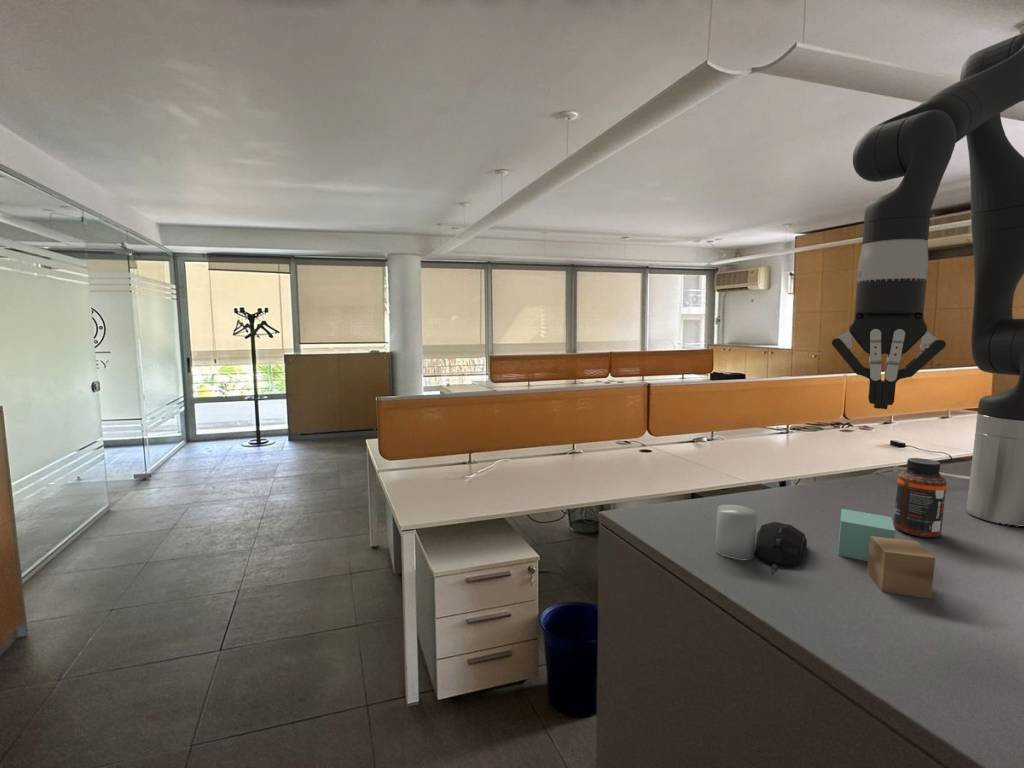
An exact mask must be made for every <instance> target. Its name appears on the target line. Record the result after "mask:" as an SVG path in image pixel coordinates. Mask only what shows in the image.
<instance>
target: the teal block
mask: <svg viewBox="0 0 1024 768" xmlns="http://www.w3.org/2000/svg"><path fill="white" fill-rule="evenodd" d="M895 533H896V528H895V526H894V520H893V519H892V516H886V515H881V514H873V513H868V512H864V511H857V510H851V509H845V508H841V509H840V520H839V531H838V545H837V546H838V549H837V553H838V554H837V555H838V556H839V557H840V556H841V557H845V558H850V559H856V560H860V561H865V562H868V556H869V546H870V536H874V537H883V538H892V539H895V535H896V534H895Z"/></svg>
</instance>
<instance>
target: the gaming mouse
mask: <svg viewBox="0 0 1024 768" xmlns="http://www.w3.org/2000/svg"><path fill="white" fill-rule="evenodd" d="M807 543H808V540H807V536H806V535H805V533H804V532H803V531H802V530H800V529H798V528H796V527H795V526H793V525H791V524H786V523H782V522H778V521H772V522H769V523H765V524H761V526H760V528H759V530H758V531H757V532H756V537H755V550H754V557H755V558H756V560H757V561H759V562H762V563H764V564H767V565H769V566H771V568H770V570H771V576H774V575H775V572H777V570H778V568H784V569H785V568H787V569H795V568H798V567H800V566H801V564H802V563H803V560H804V557H805V555H806V552H807Z"/></svg>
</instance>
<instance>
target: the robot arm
mask: <svg viewBox="0 0 1024 768" xmlns="http://www.w3.org/2000/svg"><path fill="white" fill-rule="evenodd" d="M959 78H960V79H959V81H957V82H955V83H952V84H951V85H949V86H947V87H944V88H943V89H942V90H940V91H938V92H937V93H935V94H933V95H932V96H930V97H928V98H927V99H925V100H924V101H922V103H920V104H919V105H917V106H916V107H914V108H912V109H909V110H907V111H905V112H903V113H900V114H898V115H895V116H893V117H891V118H889V119H887V120H884V121H882V122H880V123H879V124H876V125H875V126H873V127H871V128H870V129H868V130H867V131H866V132H864V134H863V135H862V136H861V137H860V138H859V140H858V141H857V143H856V144H855V146H854V150H853V153H852V165H853V169H854V171H855V174H857V175H858V176H859V177H860V178H861V179H863V180H865V181H868V182H872V183H875V182H877V183H879V182H880V183H881V182H884V181H885V182H886V181H889V180H893V179H899V178H902V177H903V179H902V180H901V181H900V184H899V185H898V186H897V187H896V189H894V190H892V191H891V192H889V193H887V194H885V195H882V196H880V197H878V198H876V199H873V200H872V201H870V202H869V203H868V204H867V206H866V207H865V209H864V211H865V212H864V216H863V217H864V218H863V227H862V228H863V230H862V241H861V244H862V245H861V250H860V254H859V259H858V264H857V265H858V267H857V272H856V287H855V288H856V291H855V303H854V314H853V315H854V316H853V320H852V322H851V323H850V325H849V326H848V327H849V328H848V331H847V332H845V333H843V334H841V335H840V336H838V337H834V338H833V339H832V341H831V345H832V346H833V349H835V350H836V352H837V353H838V354H839V355H840V356H841V358H842V359H843V361H845V362H846V363H847V364H848V366H849V367H850V369H851V370H852V371H853V372H854V373H855V374H856V375H858V376H861V377H864V378H867V379H868V380H869V383H868V384H869V385H868V397H867V399H868V402H869V404H872V405H873V409H879V410H880V409H881V410H888V406H893V404H894V403H895V395H896V384H897V382H898V381H899V380H902V379H906V378H912V377H913V376H914V375H915V374H916V373H918V372H919V371H920V370H921V369H922V368H923V367H924V366H925V365H926V364H928V363H929V362H930V361H931V360H933V358H934V357H935V356H937V355H938V354H939V353H940V352H941V351H943V350H944V349H945V347H946V346H947V344H946V341H945V340H944V339H939V338H937V337H936V336H934V335H933V334H932V333H930V332H928V325H927V323H926V322H925V319H924V314H925V303H926V293H927V281H928V275H929V271H930V268H929V261H930V260H929V258H930V257H929V236H930V235H929V234H930V223H931V211H932V207H933V204H934V201H935V199H936V196H937V194H938V193H937V192H938V191H939V188H940V185H941V181H942V179H943V178H944V175H945V172H946V170H947V168H948V166H949V164H950V161H951V158H952V156H953V152H954V150H955V146H956V143H958V142H959V141H961V140H963V138H965V137H966V144H967V145H966V146H967V151H968V161H969V175H970V179H969V180H970V219H971V220H970V223H971V225H970V226H971V237H972V239H971V240H972V246H973V247H972V250H973V266H974V267H973V268H974V270H973V271H974V294H973V309H972V310H973V312H972V322H971V323H972V324H971V325H972V326H971V339H970V340H971V345H970V346H971V354H972V359H973V362H974V364H975V366H976V367H977V368H978V370H980V371H981V372H984V373H989V374H997V375H1007V376H1008V375H1010V376H1019V378H1018V381H1017V383H1016V385H1015V386H1014V387H1012V388H1011V389H1009V390H1007V391H1005V392H1002V393H1001V392H1000V393H996V394H995V393H994V394H991V395H985V396H982V397H981V398H980V399H979V401H978V405H977V416H976V425H975V433H974V442H973V448H972V450H973V451H972V459H971V468H970V475H969V477H970V478H969V484H968V493H967V499H966V500H967V501H966V509H965V511H966V513H968V514H969V515H971V516H973V517H975V518H978V519H982V520H985V521H987V522H991V523H995V524H999V523H1001V524H1000V525H1005V524H1009V525H1008V526H1010V525H1024V318H1014V316H1013V305H1014V295H1015V291H1016V289H1017V286H1018V285H1019V283H1020V281H1021V279H1022V277H1023V276H1024V156H1023V155H1022V154H1021V153H1020V152H1019V151H1018V150H1017V149H1016V148H1015V147H1014V146H1013V145H1012V143H1011V141H1010V140H1009V138H1008V137H1007V135H1006V131H1005V130H1004V127H1003V123H1002V118H1001V113H1003V112H1004V111H1007V110H1008V109H1010V108H1011V107H1013V106H1015V105H1018V104H1019V103H1020V102H1024V32H1022V33H1020V34H1017V35H1015V36H1012V37H1009V38H1007V39H1004V40H1001V41H1000V42H997V43H994V44H992V45H990V46H987V47H985V48H982V49H980V50H977V51H975V52H974V53H972V54H970V55H969V56H968V57H967V58H966V60H965V61H964V63H963V65H962V67H961V71H960V77H959ZM852 339H854V340H855V341H856V342H857V344H858V345H859V347H860V348H861V349H862V350H863V351H864V353H866V354H868V363H869V367H866V366H864V365H863V364H862V363H861V362H860V360H859V359H858V358H857V357H856V355H854V353H853V352H852V351H851V350H850V349H851V348H852V347H853V342H852ZM920 340H922V341H921V343H920V344H919V349H920V350H921V351H920V352H919V353H918V354H917V355H916V356H914V357H913V358H912V359H911V360H910V361H909V362H907V364H906V365H905V366H903V367H901V368H899V366H900V363H901V357H902V356H903V355H904V354H907V352H908V351H910V350H911V349H912V347H913V346H915V345H916V344H917V343H918V342H919V341H920ZM883 354H885V355H887V356H886V363H885V364H886V365H885V368H884V369H885V371H884V375H883V377H884V380H882V355H883Z"/></svg>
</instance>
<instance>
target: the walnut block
mask: <svg viewBox="0 0 1024 768" xmlns="http://www.w3.org/2000/svg"><path fill="white" fill-rule="evenodd" d="M935 565H936V557H935V556H934V555H933V554H932V553H931V552H929V551H928V550H927V549H926V548H925V546H924V547H923V545H921V544H920V542H918V541H917V540H906V539H900V538H899V539H898V538H894V539H892V538H883V537H874V536H870V546H869V556H868V561H867V570H866V573H867V575H868V577H870V578H871V579H872V582H873V583H875V585H876V586H877V588H878V589H879V591H881V592H884V593H890V594H891V593H892V594H899V595H906V596H913V597H918V598H919V597H920V598H926V599H927V598H928V599H932V591H933V584H934V583H933V581H934V573H935Z"/></svg>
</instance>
